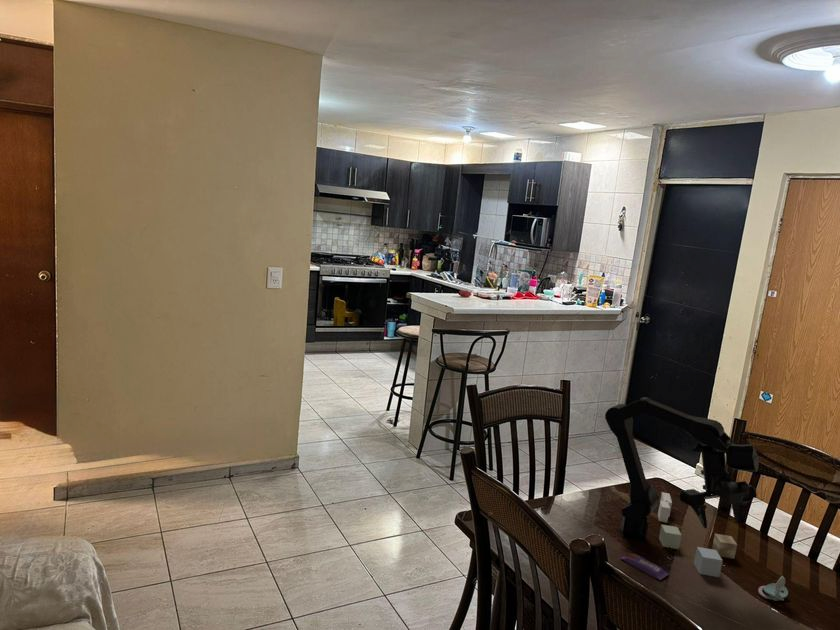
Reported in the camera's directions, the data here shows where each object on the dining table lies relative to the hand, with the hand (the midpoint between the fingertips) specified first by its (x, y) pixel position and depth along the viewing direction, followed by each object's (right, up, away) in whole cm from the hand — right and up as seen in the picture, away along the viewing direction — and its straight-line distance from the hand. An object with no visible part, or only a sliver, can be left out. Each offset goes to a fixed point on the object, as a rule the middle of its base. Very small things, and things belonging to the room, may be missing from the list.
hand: (721, 525), depth 155 cm
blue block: (-4, -13, +1) cm, 13 cm away
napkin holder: (-3, -8, +31) cm, 32 cm away
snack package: (-21, -12, -1) cm, 24 cm away
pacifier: (+9, -15, -8) cm, 19 cm away
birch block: (+6, -12, +11) cm, 17 cm away
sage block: (-9, -10, +13) cm, 18 cm away
